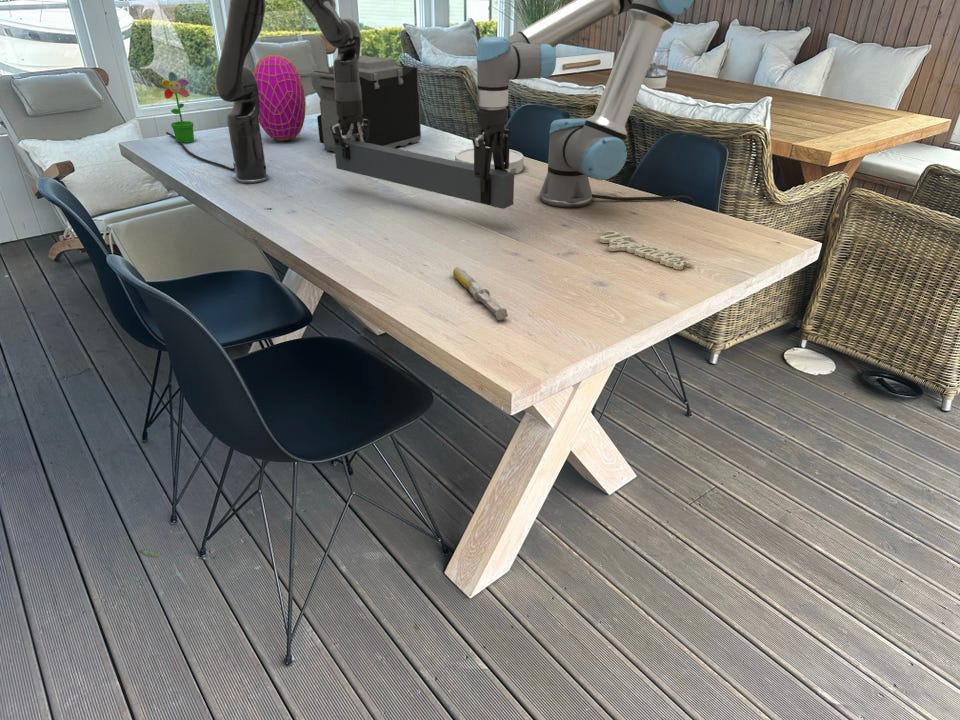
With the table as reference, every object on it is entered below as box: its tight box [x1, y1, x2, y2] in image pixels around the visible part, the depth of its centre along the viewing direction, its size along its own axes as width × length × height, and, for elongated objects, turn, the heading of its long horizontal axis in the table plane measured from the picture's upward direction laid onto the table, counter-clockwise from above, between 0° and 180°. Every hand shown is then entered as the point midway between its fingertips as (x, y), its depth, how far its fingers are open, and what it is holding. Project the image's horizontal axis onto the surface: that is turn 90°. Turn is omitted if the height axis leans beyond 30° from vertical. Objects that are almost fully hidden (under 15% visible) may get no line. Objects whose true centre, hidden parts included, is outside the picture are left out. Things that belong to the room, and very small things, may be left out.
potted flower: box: [160, 71, 195, 144], centre depth 255 cm, size 9×8×25 cm
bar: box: [334, 139, 515, 210], centre depth 190 cm, size 61×4×8 cm, turn 53°
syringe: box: [452, 266, 509, 321], centre depth 145 cm, size 25×4×3 cm, turn 21°
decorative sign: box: [599, 230, 690, 270], centre depth 167 cm, size 26×1×10 cm
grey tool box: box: [310, 55, 422, 153], centre depth 250 cm, size 37×22×30 cm, turn 144°
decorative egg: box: [252, 54, 307, 142], centre depth 257 cm, size 19×19×30 cm
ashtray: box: [454, 147, 525, 174], centre depth 232 cm, size 23×23×4 cm
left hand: (353, 157), depth 203 cm, fingers closed on bar, 4 cm apart
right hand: (491, 200), depth 179 cm, fingers closed on bar, 5 cm apart
